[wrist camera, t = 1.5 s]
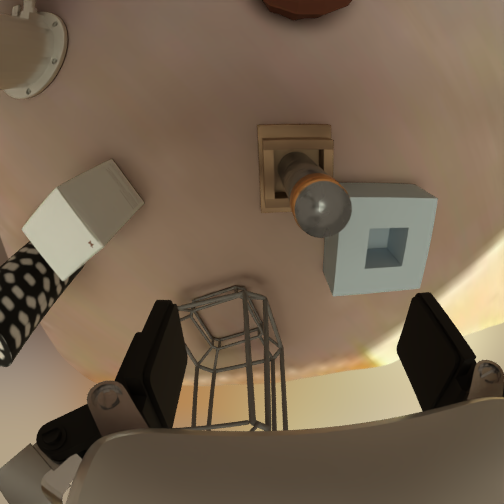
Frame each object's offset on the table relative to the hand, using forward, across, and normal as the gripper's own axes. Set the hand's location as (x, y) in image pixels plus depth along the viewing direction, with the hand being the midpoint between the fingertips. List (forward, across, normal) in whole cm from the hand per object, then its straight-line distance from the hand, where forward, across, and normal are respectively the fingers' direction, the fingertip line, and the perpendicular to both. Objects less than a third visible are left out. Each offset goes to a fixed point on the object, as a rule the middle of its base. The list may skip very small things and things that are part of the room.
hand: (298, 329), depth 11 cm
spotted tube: (+26, +30, +8) cm, 41 cm away
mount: (+26, -3, -1) cm, 26 cm away
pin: (+25, -3, -1) cm, 25 cm away
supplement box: (+26, +20, +1) cm, 33 cm away
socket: (+27, -13, +6) cm, 30 cm away
